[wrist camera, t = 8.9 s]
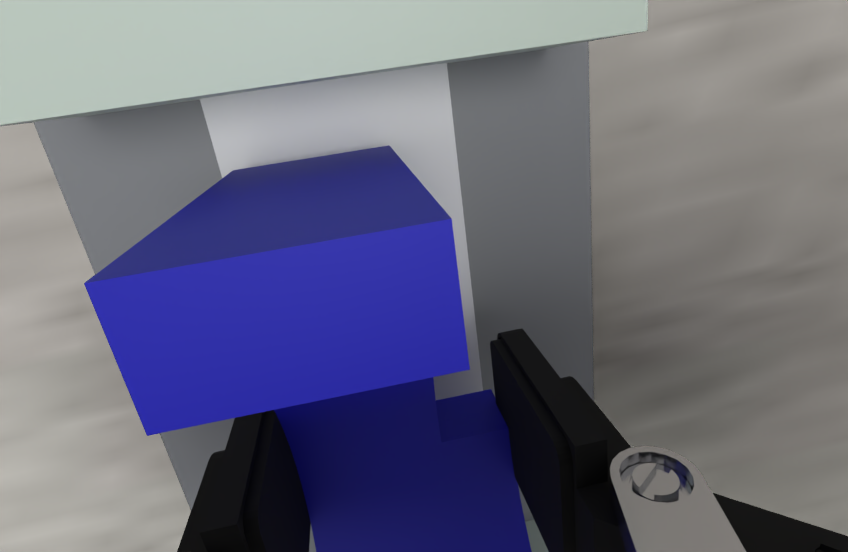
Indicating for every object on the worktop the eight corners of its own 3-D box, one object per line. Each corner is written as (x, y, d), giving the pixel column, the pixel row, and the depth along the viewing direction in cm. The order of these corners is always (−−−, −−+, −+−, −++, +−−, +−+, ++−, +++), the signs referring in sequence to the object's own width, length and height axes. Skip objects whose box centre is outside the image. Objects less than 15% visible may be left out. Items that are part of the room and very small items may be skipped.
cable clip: (509, 566, 14) (616, 869, 9) (351, 605, 14) (359, 947, 8) (464, 133, 10) (617, 189, 4) (233, 170, 10) (84, 283, 4)
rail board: (560, -150, 11) (728, -326, 6) (581, 559, 19) (663, 716, 15) (-18, -90, 10) (-343, -252, 5) (263, 641, 18) (238, 842, 13)
